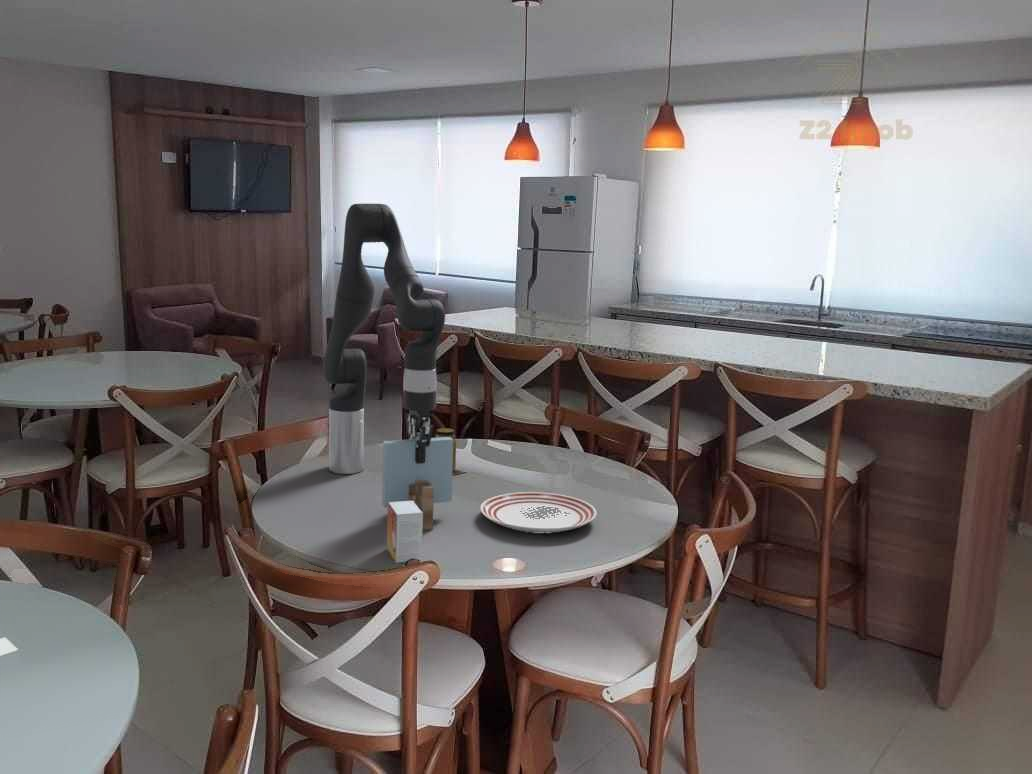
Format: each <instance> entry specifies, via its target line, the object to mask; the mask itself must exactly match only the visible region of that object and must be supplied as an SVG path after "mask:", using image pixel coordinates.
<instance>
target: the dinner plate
mask: <svg viewBox="0 0 1032 774" xmlns="http://www.w3.org/2000/svg"><path fill="white" fill-rule="evenodd" d="M542 506H545V507H544V508H546V507H553V508H551V509H554V508H555V507H556V508H559V509H558V510H560V511H561V513H562V514H561V513H560V512H558V513H555V514H553V515H555V518H554V516H551V515H552V514H549V513H548V512H547V514H548V516H549V517H550V518H549V517H545V516H547V515H544V516H543V517H545V519H543V518H540V519H535V518H539V517H535V518H531V519H530V517H528V515H526V514H527V513H529V514H530V513H531V512H534V511H535V510H536V511H538V510H539V509H536V508H537V507H542ZM531 507H532V508H531ZM522 508H523V509H522ZM528 508H530V509H528ZM533 508H534V509H535V510H533ZM479 509H480V512H481V513H482V514H483V516H484V517H485V518H487V519H488V520H490V521H492V522H493V523H495V524H497V525H499V526H503V527H506V528H508V529H511V528H512V529H511V530H514V529H516V530H515V531H517V530H521V531H520V532H522V531H528V532H544V533H546V532H557V533H561V532H560V531H562V532H565V531H571V530H573V529H577V528H581V527H583V526H585V525H588V524H589V523H591V522H592V521H593V520H595V518H596V516H597V510H596V509H597V508H595V507H594V506H593V505H592V504H591V503H589V502H587V501H585V500H582V499H579V498H576V497H573V496H570V495H569V496H568V495H564V494H560V493H559V494H558V493H552V492H540V491H522V492H521V491H520V492H509V493H505V494H500V495H496V496H493V497H490V498H488V499H486V500H484V501H483V502H482V503H481V504H480V508H479ZM527 509H528V510H527ZM540 509H542V508H540ZM524 510H525V511H524ZM529 510H533V511H530V512H529ZM547 510H549V509H547ZM520 511H522V512H520ZM544 511H545V510H544ZM525 512H527V513H525ZM551 512H552V513H553V511H551ZM556 512H557V510H556ZM564 512H566V513H570V514H565V513H564ZM522 513H525V514H522ZM539 513H540V512H539ZM533 514H536V513H533ZM556 514H559V515H556ZM524 515H526V516H524ZM530 515H532V514H530ZM541 515H543V514H541ZM565 515H567V516H565ZM534 516H537V515H534ZM526 517H528V518H526ZM531 517H532V516H531ZM533 519H534V520H533ZM528 532H527V533H528ZM546 534H547V533H546Z"/></svg>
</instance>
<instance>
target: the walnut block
mask: <svg viewBox="0 0 1032 774" xmlns="http://www.w3.org/2000/svg"><path fill="white" fill-rule="evenodd" d="M408 501H414V503H415V504H416V505H417V507H418V508H419V509H420V510H421V511H422V513H423V527H422V532H423V531H433V529H434V528H433V527H434V526H433V525H434V503H433V501H434V487H433V486H432V485H431V484H430V483H429V482H428V481H427V480H421V481H416V484H410V485H409V497H408Z"/></svg>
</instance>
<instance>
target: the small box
mask: <svg viewBox="0 0 1032 774" xmlns="http://www.w3.org/2000/svg"><path fill="white" fill-rule="evenodd" d="M386 527H387V528H386V532H387V533H386V535H387V536H386V549H387V551H388V552H389V554H390V555H391V557H392V559H393V560H394V562H395V563H396V564H398V563H399V564H400V563H405V562H406V561H407V560H408V559H411V558H416V559H418V560H419V561H422V555H423V554H422V552H423V549H422V547H423V531H422V527H423V513H422V511H421V510H420V509H419V508H418V507H417V505H416V504H415V503H414V501H399V502H388V507H387V526H386ZM406 563H407V562H406Z"/></svg>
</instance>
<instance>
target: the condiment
mask: <svg viewBox="0 0 1032 774" xmlns="http://www.w3.org/2000/svg"><path fill="white" fill-rule="evenodd" d="M439 437H451V438H452V439H453V468H452V476H455V475H459V474H463V473H467V472H468V471H467V470H464V469H460V468H458V467H457V466H456V464H457V463H456V462H457V440H456V431H455V430H454V429H453V428H447V427H446V428H445V427H444V428H443V427H441V428H438V429H436V430H435V438H439Z"/></svg>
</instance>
